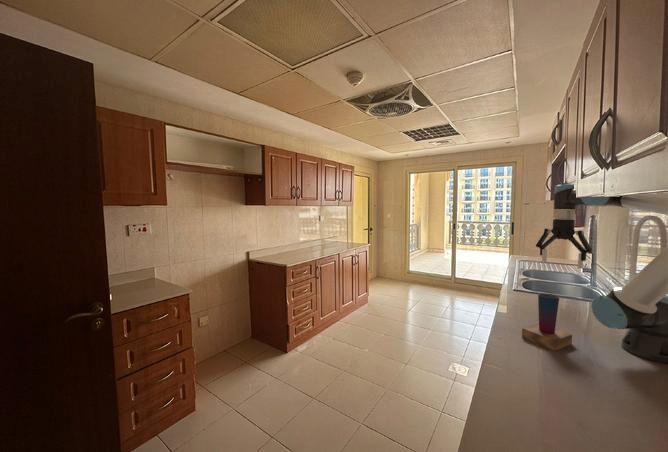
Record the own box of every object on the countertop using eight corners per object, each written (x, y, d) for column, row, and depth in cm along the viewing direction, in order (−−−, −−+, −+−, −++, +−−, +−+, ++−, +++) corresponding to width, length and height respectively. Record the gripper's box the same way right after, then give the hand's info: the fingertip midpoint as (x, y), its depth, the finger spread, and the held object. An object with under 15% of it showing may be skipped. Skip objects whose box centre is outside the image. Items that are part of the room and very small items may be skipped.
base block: (571, 344, 108) (572, 334, 108) (554, 350, 103) (555, 340, 103) (538, 332, 119) (539, 323, 119) (521, 337, 114) (522, 328, 114)
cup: (549, 328, 114) (551, 293, 113) (561, 335, 107) (563, 298, 106) (532, 327, 114) (534, 292, 113) (543, 334, 108) (545, 298, 107)
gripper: (604, 219, 113) (601, 269, 114) (536, 217, 135) (534, 259, 136) (596, 220, 109) (593, 271, 110) (528, 218, 131) (526, 261, 132)
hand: (561, 265), depth 123 cm, fingers open, 13 cm apart
